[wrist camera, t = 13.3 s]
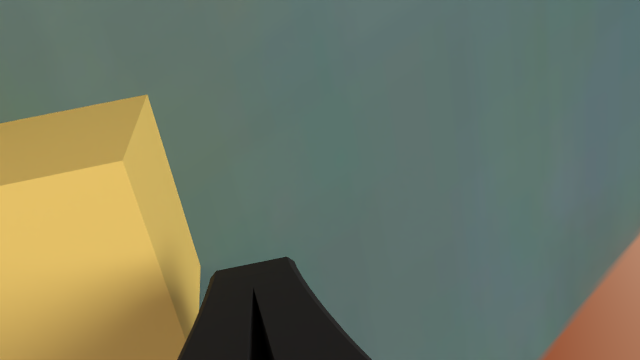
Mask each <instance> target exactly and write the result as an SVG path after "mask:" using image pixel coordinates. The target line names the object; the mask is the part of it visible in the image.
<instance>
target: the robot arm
mask: <svg viewBox="0 0 640 360" xmlns="http://www.w3.org/2000/svg"><path fill="white" fill-rule="evenodd" d="M177 360H372V359H371V358H370V357H369V356H368V355H367V354H366V353H365V352H364V351H363V350H362V349H361V348H360V347H359V346H358V345H357V344H356V343H355V342H354V341H353V340H352V339H351V338H350V337H349V336H348V334H347V333H346V332H345V331H344V330H343V329H342V328H341V326H340V325H339V324H338V323H337V322H336V321H335V319H334V318H333V317H332V316H331V315H330V314H329V312H328V311H327V310H326V309H325V308H324V306H323V305H322V304H321V303H320V301H319V300H318V299H317V297H316V296H315V294H314V293H313V292H312V290H311V289H310V288H309V286H308V285H307V283H306V282H305V280H304V279H303V277H302V275H301V274H300V272H299V270H298V268H297V267H296V265H295V262H294V261H293V260H291V259H290V258H288V257H283V258H278V259H273V260H268V261H263V262H258V263H253V264H248V265H243V266H238V267H234V268H229V269H224V270H219V271H216V272H215V273H214V275H213V276H212V277H211V279H210V282H209V286H208V289H207V292H206V294H205V297H204V300H203V302H202V305H201V308H200V310H199V312H198V315H197V317H196V320H195V322H194V324H193V327H192V329H191V331H190V333H189V335H188V338H187V340H186V342H185V344H184V346H183V348H182V350H181V352H180V355H179V357H178V359H177Z"/></svg>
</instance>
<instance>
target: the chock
mask: <svg viewBox="0 0 640 360" xmlns="http://www.w3.org/2000/svg"><path fill="white" fill-rule="evenodd" d="M199 292H200V264H199V260H198V257H197V254H196V251H195V247H194V244H193V241H192V238H191V235H190V231H189V228H188V225H187V222H186V218H185V215H184V212H183V209H182V205H181V202H180V199H179V196H178V193H177V189H176V186H175V183H174V180H173V176H172V173H171V170H170V167H169V163H168V160H167V157H166V154H165V150H164V147H163V144H162V141H161V138H160V134H159V131H158V128H157V125H156V121H155V118H154V115H153V112H152V108H151V105H150V102H149V99H148V96H147V95H143V96H138V97H132V98H127V99H122V100H117V101H112V102H107V103H102V104H97V105H92V106H87V107H82V108H77V109H72V110H66V111H61V112H56V113H51V114H46V115H41V116H36V117H31V118H26V119H21V120H16V121H11V122H6V123H1V124H0V360H177V359H178V357H179V355H180V352H181V350H182V348H183V346H184V344H185V342H186V340H187V338H188V335H189V333H190V331H191V329H192V327H193V324H194V322H195V320H196V317H197V315H198V312H199Z"/></svg>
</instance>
